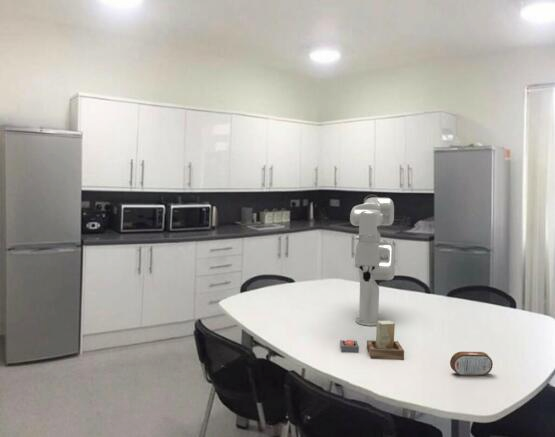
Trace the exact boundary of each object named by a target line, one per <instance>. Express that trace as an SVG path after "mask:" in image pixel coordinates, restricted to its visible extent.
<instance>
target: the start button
mask: <svg viewBox="0 0 555 437" xmlns="http://www.w3.org/2000/svg"><path fill="white" fill-rule="evenodd" d="M354 341H355V340H352V339H346V340H345V345H347V346H354Z"/></svg>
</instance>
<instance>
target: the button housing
mask: <svg viewBox="0 0 555 437" xmlns="http://www.w3.org/2000/svg"><path fill="white" fill-rule="evenodd" d="M353 341H354V346H347V345H345V340H341V339H340V340H339V348H340V349H341V351H340V352H341V353H355V354H358V353H359V351H360V345H359V342H358V340H353Z"/></svg>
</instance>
